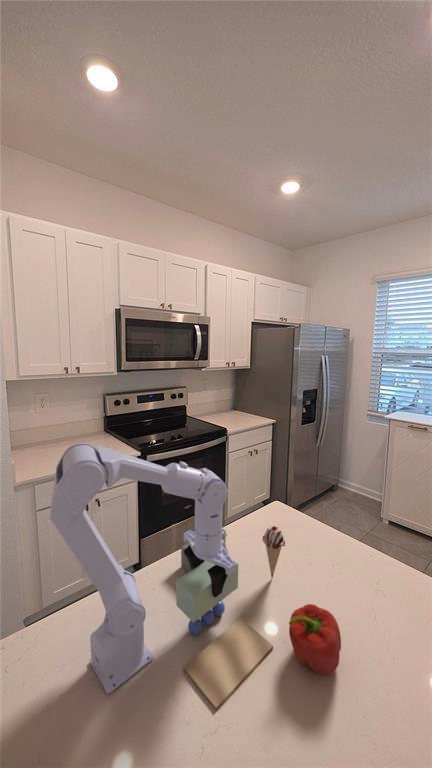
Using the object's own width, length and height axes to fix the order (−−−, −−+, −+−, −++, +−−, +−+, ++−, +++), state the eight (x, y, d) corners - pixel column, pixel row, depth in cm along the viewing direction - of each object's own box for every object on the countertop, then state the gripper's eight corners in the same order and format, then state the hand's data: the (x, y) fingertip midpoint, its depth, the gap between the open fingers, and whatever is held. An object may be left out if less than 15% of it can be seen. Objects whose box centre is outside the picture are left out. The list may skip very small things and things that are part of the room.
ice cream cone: (284, 587, 80) (287, 533, 78) (262, 587, 81) (264, 532, 78) (280, 571, 86) (283, 520, 84) (259, 570, 86) (261, 519, 84)
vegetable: (298, 692, 57) (301, 644, 55) (276, 639, 67) (278, 596, 65) (352, 680, 59) (357, 634, 57) (323, 630, 69) (326, 589, 68)
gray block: (229, 583, 82) (230, 562, 81) (213, 595, 78) (213, 573, 77) (196, 557, 91) (197, 538, 90) (181, 566, 87) (181, 546, 86)
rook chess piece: (222, 564, 88) (223, 538, 87) (210, 557, 91) (210, 532, 90) (231, 555, 92) (232, 530, 91) (219, 549, 94) (219, 524, 93)
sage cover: (193, 622, 63) (193, 596, 62) (176, 605, 67) (176, 580, 66) (237, 587, 72) (238, 563, 71) (220, 573, 76) (220, 551, 75)
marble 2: (206, 631, 68) (206, 619, 68) (197, 622, 71) (197, 610, 70) (216, 622, 70) (216, 610, 70) (207, 614, 73) (207, 602, 72)
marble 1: (194, 641, 66) (194, 629, 66) (185, 631, 68) (185, 619, 68) (205, 632, 68) (205, 620, 68) (196, 623, 70) (196, 611, 70)
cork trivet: (216, 710, 54) (216, 707, 54) (183, 669, 60) (183, 667, 60) (273, 648, 65) (273, 645, 65) (240, 619, 71) (240, 617, 71)
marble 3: (217, 621, 71) (218, 609, 70) (208, 613, 73) (209, 601, 72) (227, 613, 73) (227, 602, 72) (218, 605, 75) (218, 594, 74)
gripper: (247, 536, 64) (245, 595, 67) (200, 507, 75) (199, 559, 77) (222, 551, 60) (220, 615, 62) (175, 519, 70) (176, 574, 72)
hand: (207, 585), depth 69 cm, fingers closed on sage cover, 6 cm apart
